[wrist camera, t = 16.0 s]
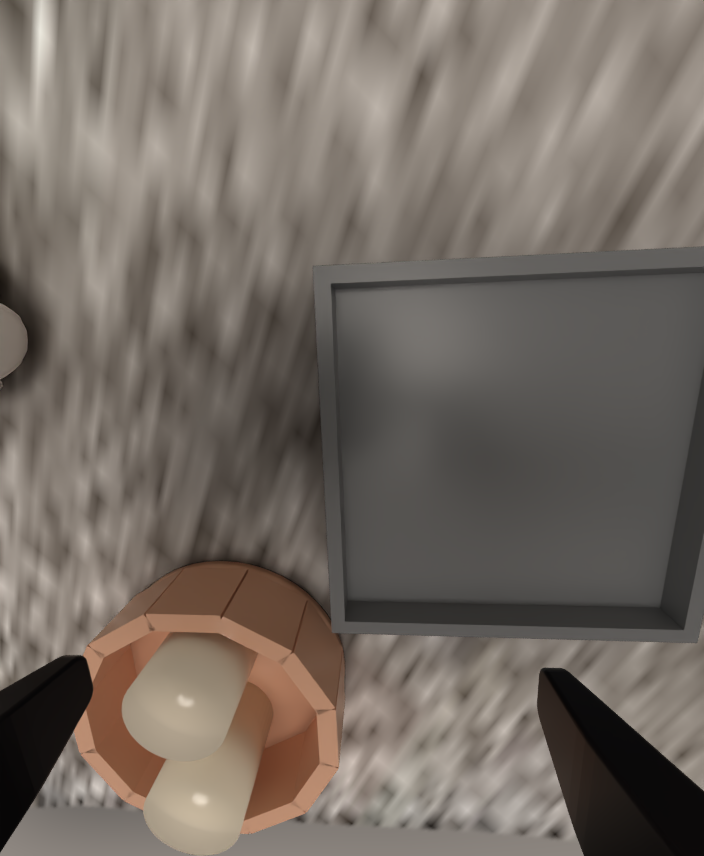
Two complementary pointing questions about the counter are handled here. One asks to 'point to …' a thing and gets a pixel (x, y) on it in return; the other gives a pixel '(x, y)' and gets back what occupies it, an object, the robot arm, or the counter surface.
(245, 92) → the counter surface
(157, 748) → the pebble
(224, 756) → the cream rounded piece
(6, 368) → the water bottle
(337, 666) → the bowl
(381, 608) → the parts tray
